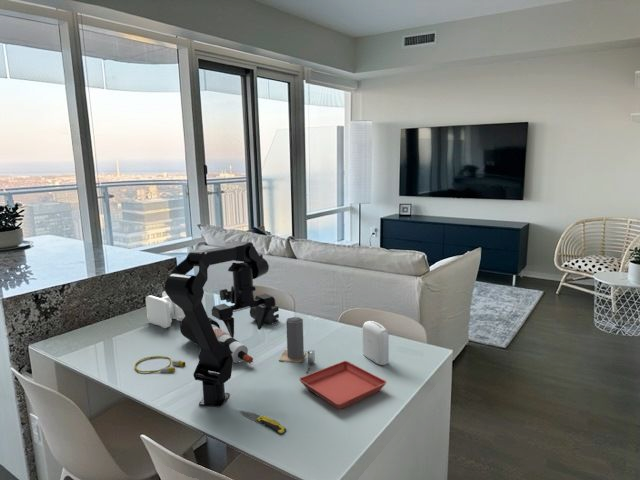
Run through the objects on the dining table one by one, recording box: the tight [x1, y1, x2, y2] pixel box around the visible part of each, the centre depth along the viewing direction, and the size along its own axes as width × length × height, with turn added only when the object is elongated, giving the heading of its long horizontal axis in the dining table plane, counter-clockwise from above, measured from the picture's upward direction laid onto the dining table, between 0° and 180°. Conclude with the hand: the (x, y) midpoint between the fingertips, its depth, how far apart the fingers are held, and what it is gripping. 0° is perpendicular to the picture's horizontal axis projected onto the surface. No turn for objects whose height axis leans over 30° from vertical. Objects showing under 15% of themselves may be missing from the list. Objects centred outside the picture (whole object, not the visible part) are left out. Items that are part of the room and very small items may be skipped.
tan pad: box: [278, 349, 308, 363], centre depth 146 cm, size 8×8×1 cm
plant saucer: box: [298, 360, 387, 410], centre depth 125 cm, size 18×18×3 cm
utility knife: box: [238, 409, 287, 436], centre depth 111 cm, size 16×1×3 cm
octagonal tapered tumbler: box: [286, 316, 305, 359], centre depth 145 cm, size 5×5×12 cm
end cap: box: [249, 305, 280, 325], centre depth 178 cm, size 10×7×7 cm
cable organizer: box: [145, 290, 185, 329], centre depth 179 cm, size 15×11×12 cm
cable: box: [179, 316, 254, 365], centre depth 150 cm, size 10×34×10 cm, turn 47°
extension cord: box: [134, 355, 186, 375], centre depth 141 cm, size 12×16×2 cm
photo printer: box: [362, 320, 390, 366], centre depth 142 cm, size 10×4×12 cm, turn 29°
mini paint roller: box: [305, 349, 316, 374], centre depth 138 cm, size 8×2×4 cm, turn 170°
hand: (245, 333), depth 133 cm, fingers open, 9 cm apart
